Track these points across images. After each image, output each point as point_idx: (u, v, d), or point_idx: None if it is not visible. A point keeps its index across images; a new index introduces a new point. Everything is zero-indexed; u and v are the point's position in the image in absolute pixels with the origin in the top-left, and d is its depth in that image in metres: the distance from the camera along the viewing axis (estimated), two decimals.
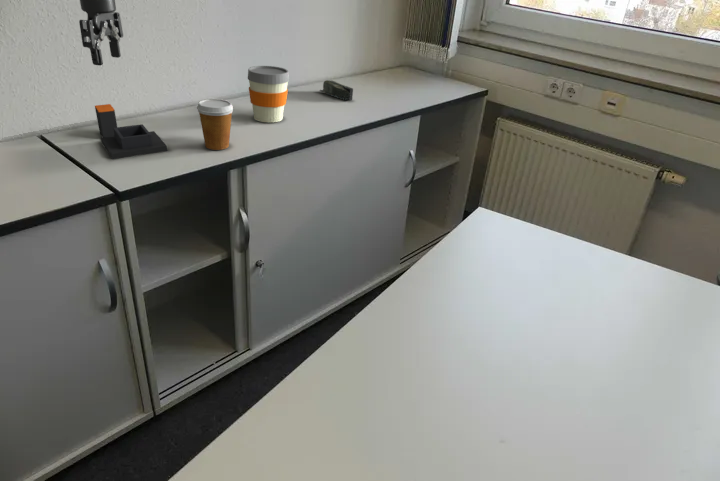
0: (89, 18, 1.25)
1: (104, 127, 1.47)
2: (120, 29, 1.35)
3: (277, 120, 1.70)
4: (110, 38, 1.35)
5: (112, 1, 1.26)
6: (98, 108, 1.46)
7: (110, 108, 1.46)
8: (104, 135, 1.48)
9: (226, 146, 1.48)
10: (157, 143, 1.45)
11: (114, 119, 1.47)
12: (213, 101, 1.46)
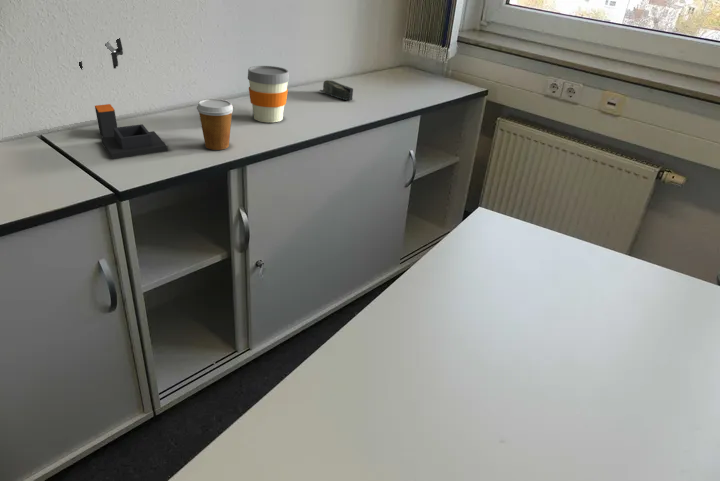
0: None
1: (104, 127, 1.47)
2: (118, 44, 1.54)
3: (277, 120, 1.70)
4: None
5: None
6: (98, 108, 1.46)
7: (110, 108, 1.46)
8: (104, 135, 1.48)
9: (226, 146, 1.48)
10: (157, 143, 1.45)
11: (114, 119, 1.47)
12: (213, 101, 1.46)
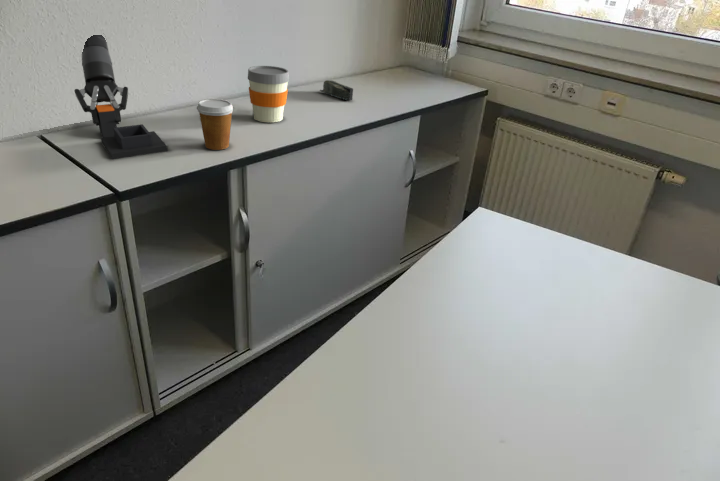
0: None
1: (104, 127, 1.47)
2: (123, 99, 1.49)
3: (277, 120, 1.70)
4: None
5: (97, 67, 1.47)
6: (98, 108, 1.46)
7: (110, 108, 1.46)
8: (104, 135, 1.48)
9: (226, 146, 1.48)
10: (157, 143, 1.45)
11: (114, 119, 1.47)
12: (213, 101, 1.46)
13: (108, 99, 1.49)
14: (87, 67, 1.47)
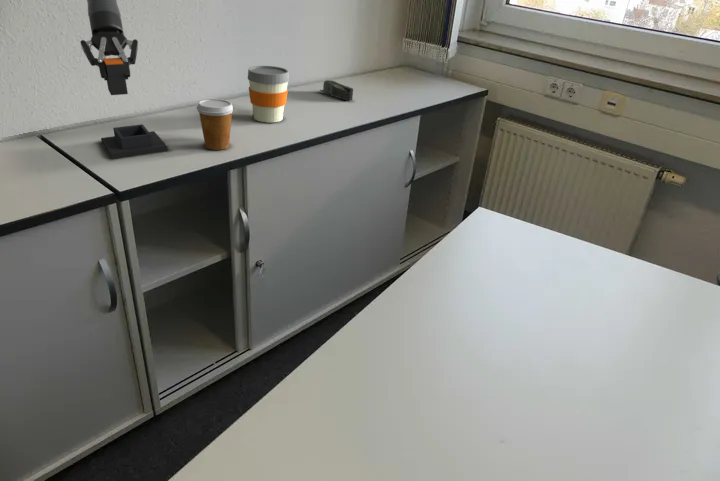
0: None
1: (112, 82, 1.36)
2: (132, 52, 1.39)
3: (277, 120, 1.70)
4: (123, 62, 1.39)
5: (105, 17, 1.36)
6: (106, 61, 1.35)
7: (119, 61, 1.36)
8: (112, 90, 1.37)
9: (226, 146, 1.48)
10: (157, 143, 1.45)
11: (123, 73, 1.37)
12: (213, 101, 1.46)
13: (116, 52, 1.38)
14: (94, 17, 1.36)
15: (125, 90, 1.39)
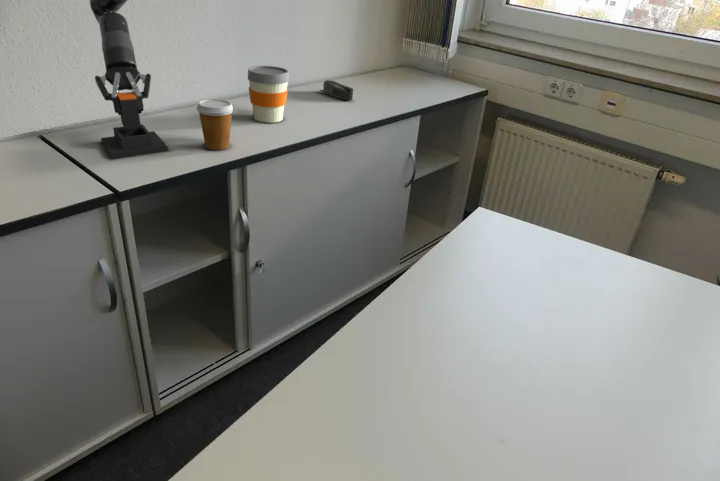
0: None
1: (125, 116, 1.38)
2: (145, 86, 1.41)
3: (277, 120, 1.70)
4: (136, 96, 1.41)
5: (119, 52, 1.38)
6: (120, 96, 1.37)
7: (132, 96, 1.38)
8: (125, 125, 1.39)
9: (226, 146, 1.48)
10: (157, 143, 1.45)
11: (136, 108, 1.39)
12: (213, 101, 1.46)
13: (130, 87, 1.40)
14: (108, 52, 1.38)
15: (138, 124, 1.41)
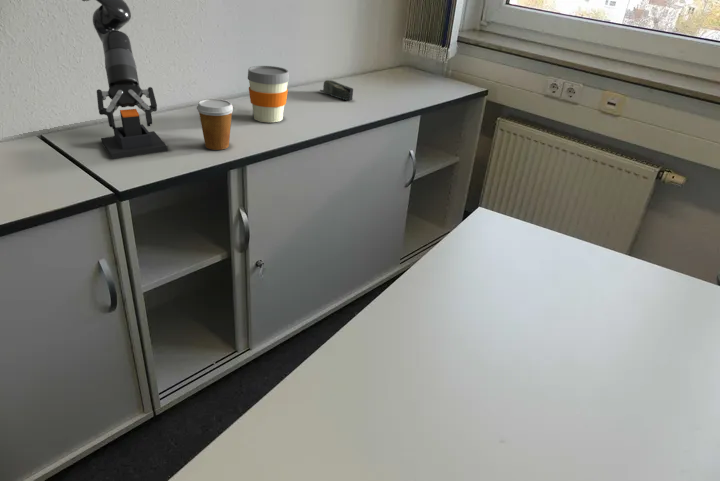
0: None
1: (128, 133, 1.41)
2: (152, 100, 1.44)
3: (277, 120, 1.70)
4: (145, 110, 1.44)
5: (121, 70, 1.40)
6: (123, 113, 1.40)
7: (135, 113, 1.40)
8: None
9: (226, 146, 1.48)
10: (157, 143, 1.45)
11: (139, 125, 1.41)
12: (213, 101, 1.46)
13: (136, 103, 1.43)
14: (111, 70, 1.40)
15: None
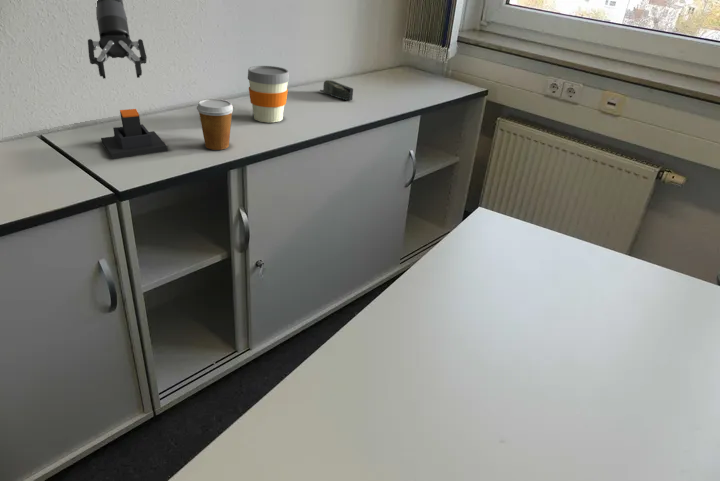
0: None
1: (128, 133, 1.41)
2: (142, 52, 1.48)
3: (277, 120, 1.70)
4: (135, 62, 1.48)
5: (112, 21, 1.44)
6: (123, 113, 1.40)
7: (135, 113, 1.40)
8: None
9: (226, 146, 1.48)
10: (157, 143, 1.45)
11: (139, 125, 1.41)
12: (213, 101, 1.46)
13: (126, 54, 1.47)
14: (102, 21, 1.44)
15: None
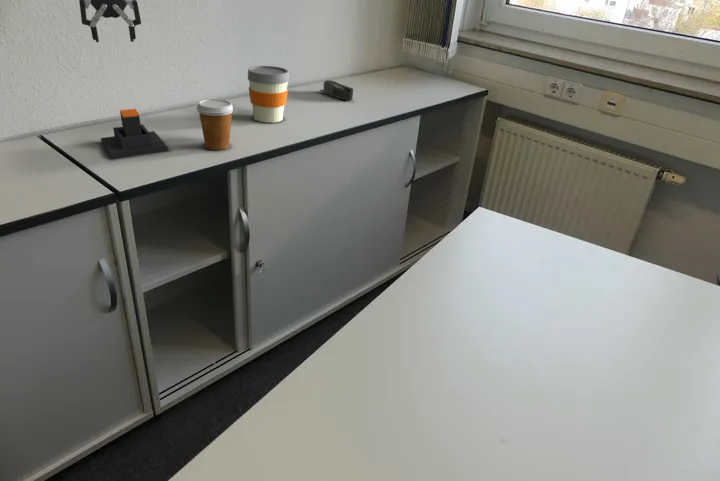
0: None
1: (128, 133, 1.41)
2: (136, 16, 1.42)
3: (277, 120, 1.70)
4: None
5: None
6: (123, 113, 1.40)
7: (135, 113, 1.40)
8: None
9: (226, 146, 1.48)
10: (157, 143, 1.45)
11: (139, 125, 1.41)
12: (213, 101, 1.46)
13: None
14: None
15: None
